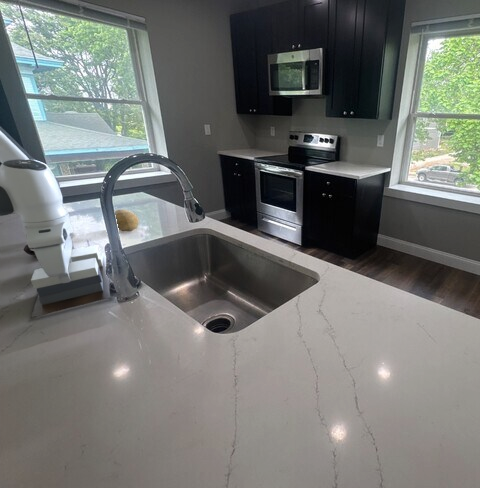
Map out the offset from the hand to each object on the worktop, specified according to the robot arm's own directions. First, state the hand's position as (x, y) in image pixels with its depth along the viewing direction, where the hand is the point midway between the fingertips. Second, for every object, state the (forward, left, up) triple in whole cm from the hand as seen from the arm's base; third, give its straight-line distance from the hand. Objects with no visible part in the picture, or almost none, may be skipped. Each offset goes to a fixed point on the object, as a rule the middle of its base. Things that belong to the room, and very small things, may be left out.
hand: (68, 274), depth 80 cm
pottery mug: (-8, +32, -7) cm, 34 cm away
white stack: (0, +16, -6) cm, 17 cm away
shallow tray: (0, +8, -7) cm, 11 cm away
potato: (+15, +46, -7) cm, 49 cm away
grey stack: (0, 0, -6) cm, 6 cm away
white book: (0, 0, 0) cm, 0 cm away
